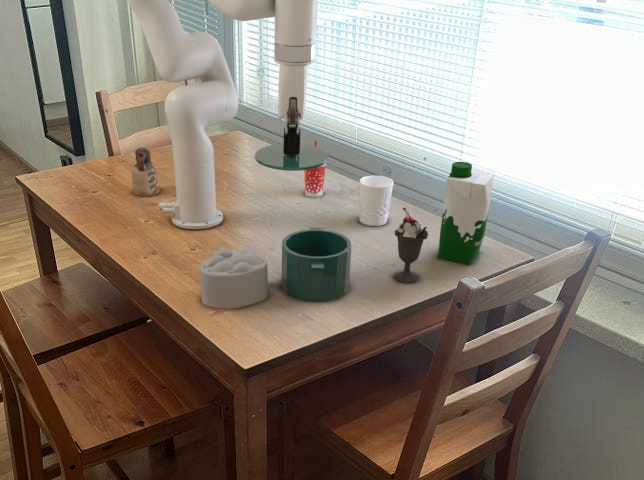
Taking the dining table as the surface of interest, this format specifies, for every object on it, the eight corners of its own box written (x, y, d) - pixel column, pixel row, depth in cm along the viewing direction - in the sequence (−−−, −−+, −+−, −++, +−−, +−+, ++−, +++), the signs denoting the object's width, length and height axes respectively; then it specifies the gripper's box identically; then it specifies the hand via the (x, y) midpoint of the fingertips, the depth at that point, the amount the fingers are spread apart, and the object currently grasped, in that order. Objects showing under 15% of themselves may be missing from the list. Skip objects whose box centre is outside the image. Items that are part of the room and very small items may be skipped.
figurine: (162, 187, 196) (158, 143, 189) (155, 197, 190) (150, 152, 183) (137, 186, 197) (132, 142, 190) (129, 195, 191) (124, 151, 184)
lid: (253, 172, 138) (253, 140, 135) (256, 148, 150) (257, 118, 147) (329, 174, 138) (331, 142, 134) (326, 149, 150) (328, 119, 146)
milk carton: (444, 243, 164) (456, 157, 152) (484, 251, 160) (500, 163, 149) (432, 258, 157) (444, 169, 146) (473, 267, 153) (489, 176, 142)
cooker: (281, 308, 140) (281, 264, 135) (282, 264, 156) (282, 223, 150) (351, 309, 139) (354, 264, 134) (345, 265, 155) (348, 224, 150)
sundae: (386, 271, 152) (392, 204, 144) (417, 269, 153) (425, 202, 145) (393, 285, 147) (401, 216, 139) (426, 284, 147) (435, 215, 139)
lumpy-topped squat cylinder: (273, 297, 143) (273, 258, 139) (215, 314, 138) (213, 274, 133) (247, 277, 151) (246, 239, 146) (192, 292, 145) (189, 253, 141)
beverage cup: (307, 188, 194) (309, 136, 186) (328, 191, 192) (331, 139, 184) (298, 196, 189) (299, 142, 182) (320, 199, 187) (322, 145, 179)
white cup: (388, 228, 171) (392, 187, 166) (355, 226, 172) (358, 185, 167) (390, 215, 178) (394, 176, 172) (358, 213, 179) (361, 174, 173)
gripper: (275, 43, 139) (273, 138, 150) (272, 62, 126) (271, 165, 136) (314, 44, 139) (310, 139, 149) (315, 63, 126) (310, 166, 136)
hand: (291, 150), depth 143 cm, fingers closed on lid, 2 cm apart
